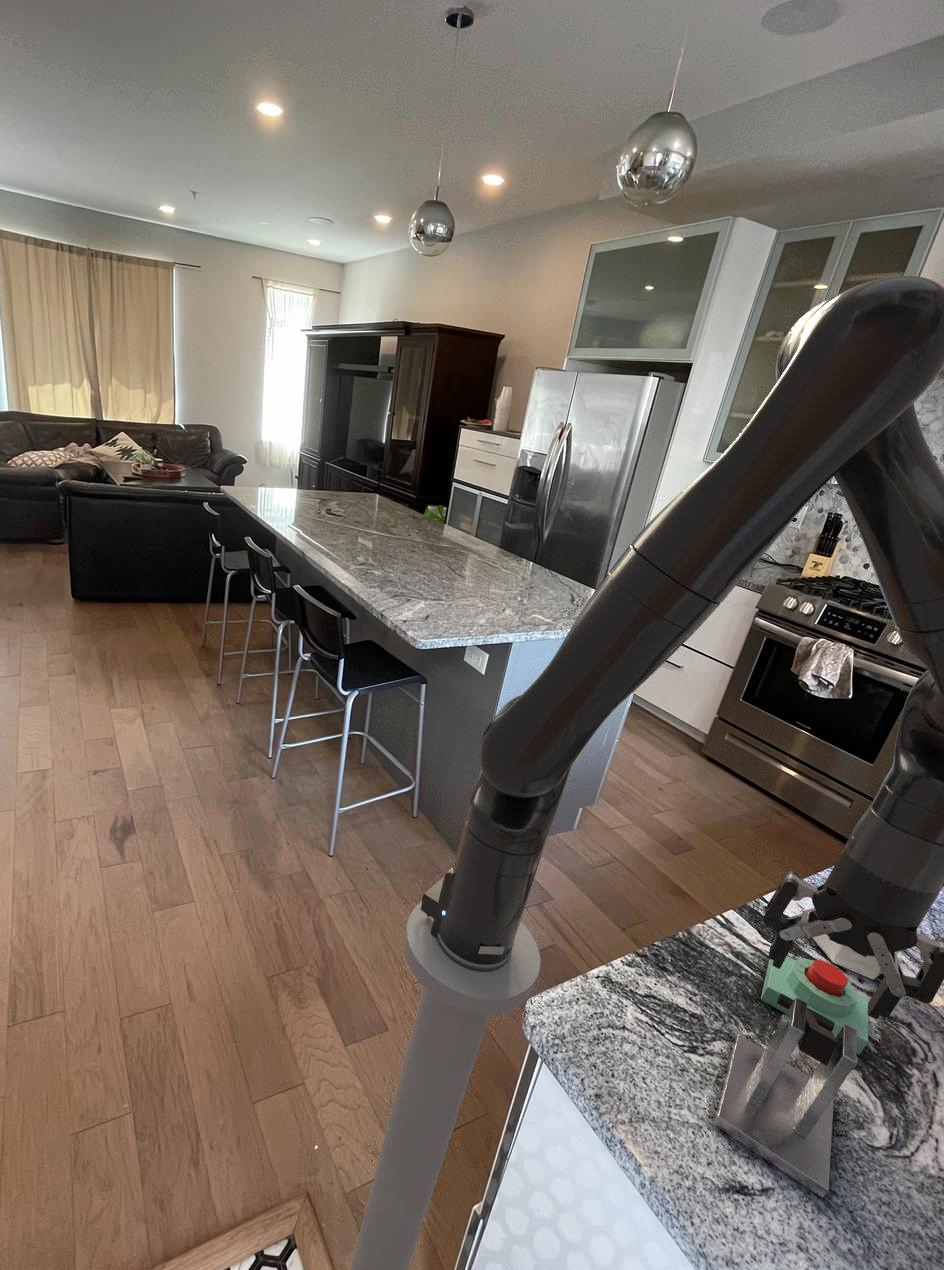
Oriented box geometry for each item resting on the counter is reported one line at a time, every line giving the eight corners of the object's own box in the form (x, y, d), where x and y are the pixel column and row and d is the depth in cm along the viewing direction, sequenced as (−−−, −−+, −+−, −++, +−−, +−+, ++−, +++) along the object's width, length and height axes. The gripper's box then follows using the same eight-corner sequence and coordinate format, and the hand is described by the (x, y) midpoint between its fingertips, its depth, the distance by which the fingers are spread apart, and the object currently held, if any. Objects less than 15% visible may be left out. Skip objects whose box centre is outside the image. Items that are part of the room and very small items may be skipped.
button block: (760, 999, 75) (773, 975, 74) (768, 962, 81) (780, 938, 80) (859, 1055, 70) (875, 1030, 68) (860, 1010, 76) (875, 986, 75)
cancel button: (805, 983, 74) (811, 972, 73) (807, 965, 77) (813, 954, 76) (840, 1002, 72) (847, 991, 71) (841, 983, 75) (848, 972, 74)
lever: (773, 1006, 69) (782, 986, 69) (826, 1036, 66) (836, 1015, 66) (782, 1040, 59) (792, 1016, 58) (845, 1077, 56) (856, 1052, 56)
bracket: (734, 1041, 69) (777, 962, 65) (829, 1098, 64) (882, 1017, 60) (713, 1124, 60) (762, 1039, 55) (822, 1198, 55) (885, 1111, 51)
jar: (881, 950, 87) (923, 881, 82) (893, 990, 80) (940, 918, 76) (807, 919, 90) (844, 852, 86) (813, 955, 84) (853, 885, 79)
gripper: (986, 882, 58) (904, 1007, 64) (810, 812, 66) (751, 929, 72) (998, 924, 53) (907, 1057, 59) (804, 842, 60) (741, 967, 66)
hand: (822, 987), depth 65 cm, fingers open, 8 cm apart
